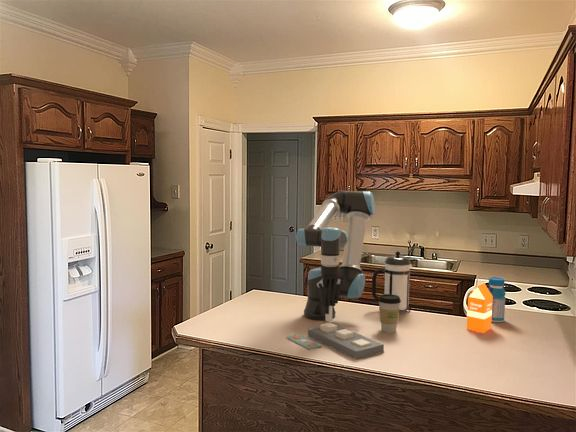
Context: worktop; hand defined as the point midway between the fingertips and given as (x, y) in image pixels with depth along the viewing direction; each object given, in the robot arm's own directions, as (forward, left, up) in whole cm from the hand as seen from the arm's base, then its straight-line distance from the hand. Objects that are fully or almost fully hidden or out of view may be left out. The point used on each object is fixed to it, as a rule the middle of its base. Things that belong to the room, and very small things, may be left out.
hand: (328, 320), depth 200 cm
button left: (0, 0, -5) cm, 5 cm away
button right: (+20, 0, -7) cm, 21 cm away
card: (0, -13, -7) cm, 15 cm away
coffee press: (-14, +53, -7) cm, 55 cm away
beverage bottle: (+23, +82, -7) cm, 86 cm away
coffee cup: (+7, +28, -7) cm, 30 cm away
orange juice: (+27, +64, -7) cm, 70 cm away
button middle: (+10, 0, -5) cm, 11 cm away
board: (+10, 0, -7) cm, 12 cm away
